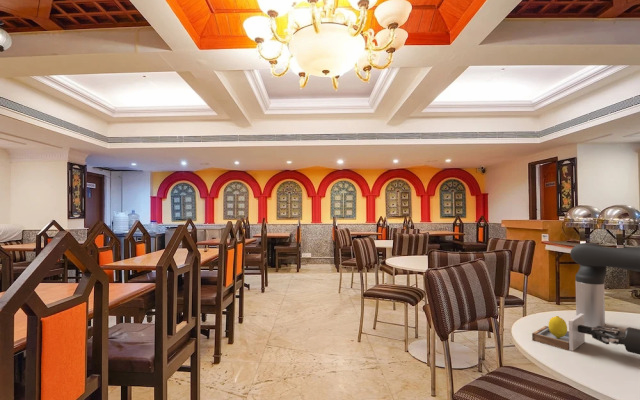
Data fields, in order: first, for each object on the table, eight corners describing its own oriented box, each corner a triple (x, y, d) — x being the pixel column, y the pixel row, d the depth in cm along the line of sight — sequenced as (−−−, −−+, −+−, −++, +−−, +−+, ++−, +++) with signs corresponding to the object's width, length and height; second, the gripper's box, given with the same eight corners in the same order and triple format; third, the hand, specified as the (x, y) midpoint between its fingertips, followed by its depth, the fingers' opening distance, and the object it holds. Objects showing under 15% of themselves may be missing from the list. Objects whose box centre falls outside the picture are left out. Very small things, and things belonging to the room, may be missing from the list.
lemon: (570, 341, 119) (570, 319, 119) (552, 340, 120) (552, 317, 120) (563, 336, 124) (562, 314, 124) (546, 334, 125) (545, 313, 125)
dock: (545, 332, 131) (545, 325, 131) (580, 341, 122) (580, 334, 122) (532, 340, 123) (532, 333, 123) (568, 350, 114) (568, 343, 114)
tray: (548, 332, 130) (548, 306, 130) (584, 341, 121) (584, 313, 121) (535, 340, 122) (535, 313, 122) (572, 350, 113) (572, 321, 113)
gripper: (643, 362, 99) (572, 343, 113) (651, 350, 107) (584, 334, 121) (642, 336, 99) (571, 321, 113) (651, 326, 108) (584, 313, 121)
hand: (578, 328), depth 117 cm, fingers closed
